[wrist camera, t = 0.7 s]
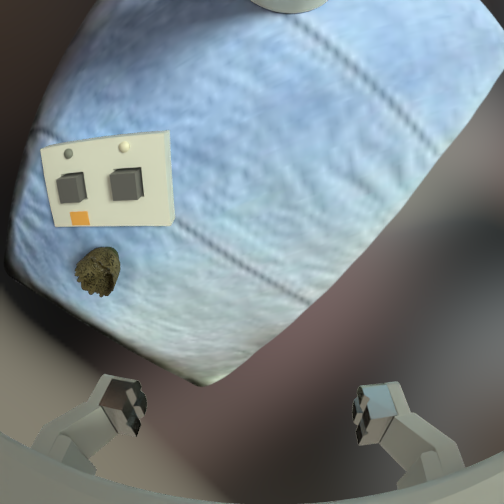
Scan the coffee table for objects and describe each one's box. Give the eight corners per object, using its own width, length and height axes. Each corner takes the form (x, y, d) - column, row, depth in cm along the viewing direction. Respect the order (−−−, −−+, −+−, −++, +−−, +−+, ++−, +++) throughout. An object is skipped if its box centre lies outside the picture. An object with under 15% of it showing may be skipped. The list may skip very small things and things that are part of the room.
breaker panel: (50, 145, 39) (39, 149, 36) (169, 130, 40) (163, 133, 37) (63, 219, 46) (54, 227, 43) (175, 217, 47) (170, 227, 44)
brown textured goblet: (130, 240, 49) (113, 265, 42) (129, 274, 52) (114, 302, 45) (93, 232, 48) (72, 255, 41) (94, 265, 51) (76, 291, 44)
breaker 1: (66, 173, 40) (55, 179, 38) (85, 171, 40) (75, 177, 38) (70, 196, 42) (60, 203, 40) (89, 195, 42) (79, 202, 40)
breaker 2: (118, 168, 41) (109, 174, 38) (142, 167, 41) (134, 172, 38) (121, 193, 43) (113, 200, 40) (144, 192, 43) (137, 200, 40)
